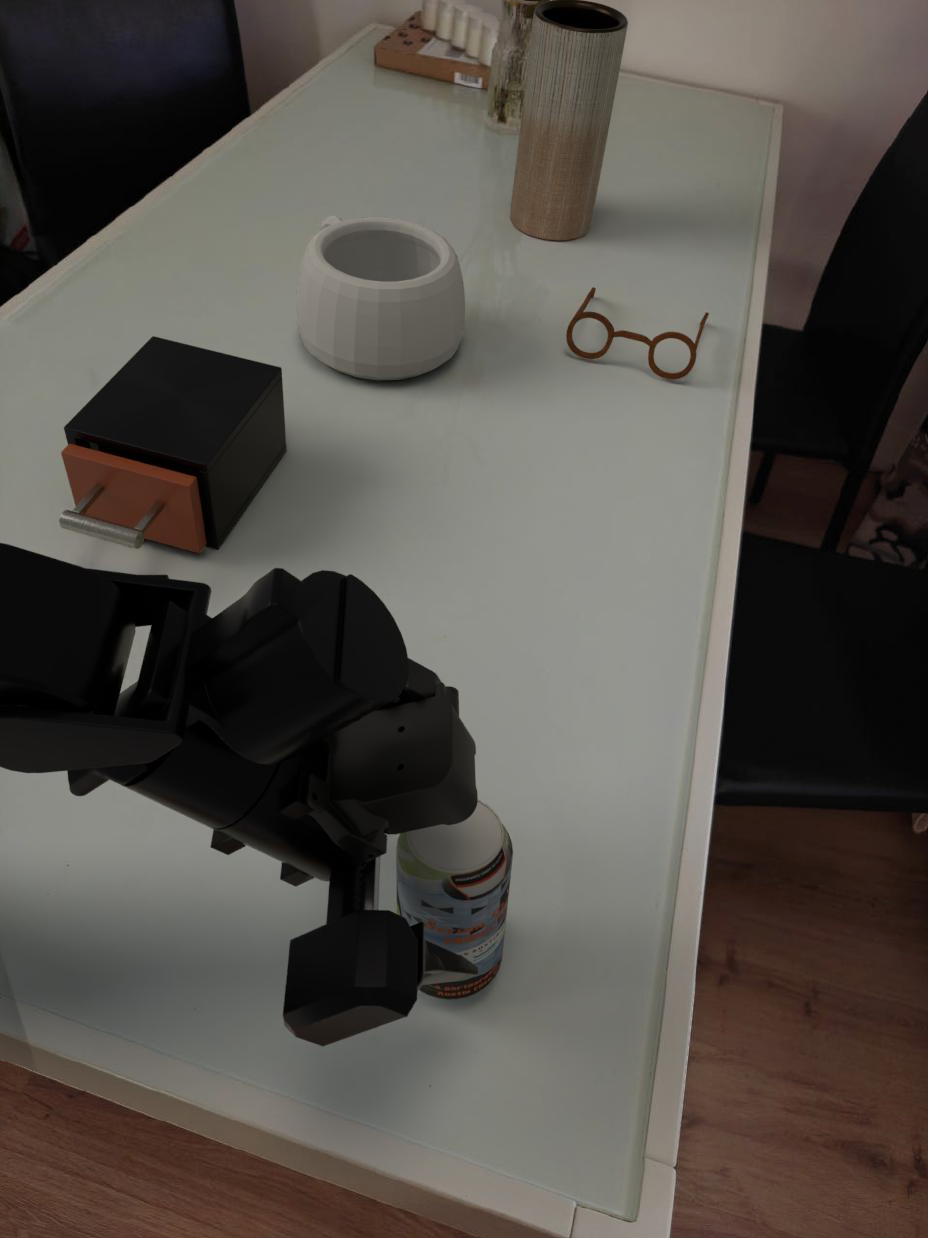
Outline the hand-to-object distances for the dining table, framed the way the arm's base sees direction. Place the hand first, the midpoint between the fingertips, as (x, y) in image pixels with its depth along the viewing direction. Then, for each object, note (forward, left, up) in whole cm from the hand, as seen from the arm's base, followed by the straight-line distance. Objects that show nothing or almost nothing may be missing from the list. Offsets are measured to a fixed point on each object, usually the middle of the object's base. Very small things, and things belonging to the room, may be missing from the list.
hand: (469, 889), depth 53 cm
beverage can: (-1, 0, -7) cm, 7 cm away
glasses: (+28, +64, -7) cm, 70 cm away
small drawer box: (-17, +43, -7) cm, 47 cm away
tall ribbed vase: (+24, +90, -7) cm, 94 cm away
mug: (0, +66, -7) cm, 66 cm away
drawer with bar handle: (-19, +39, -6) cm, 44 cm away
